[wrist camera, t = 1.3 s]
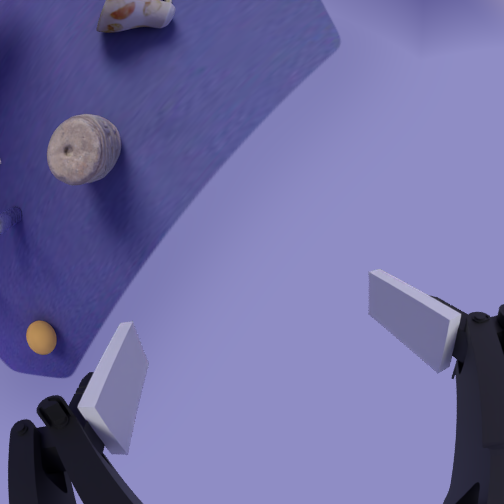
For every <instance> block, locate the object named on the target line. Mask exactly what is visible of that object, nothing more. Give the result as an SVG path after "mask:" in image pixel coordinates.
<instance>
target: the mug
mask: <svg viewBox="0 0 504 504" xmlns="http://www.w3.org/2000/svg"><path fill="white" fill-rule="evenodd" d="M165 1H166V2H165ZM165 1H161V0H106V2H105V4H104V6H103V9H102V12H101V15H100V18H99V21H98V25H97V31H99V32H105V33H113V32H120V31H124V30H128V29H133V28H138V27H154V28H163V27H165V26H167V25H168V24H169V23H170V22H171V20H172V18H173V16H174V14H175V7H174V6H173V4H172V0H165Z"/></svg>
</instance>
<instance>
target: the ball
mask: <svg viewBox="0 0 504 504" xmlns="http://www.w3.org/2000/svg"><path fill="white" fill-rule="evenodd" d="M26 337H27V342H28V344H29V346H30V348H31V349H32V350H33V351H34V352H36V353H38V354H41V355H46V354H49V353H51V352H52V351H53V350H54V348H55V346H56V342H57V337H56V333H55V331H54V329H53V327H52V326H51V325H50V324H48V323H47V322H45V321H35V322H33V323H32V324H30V326H29V327H28V329H27V334H26Z"/></svg>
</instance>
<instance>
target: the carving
mask: <svg viewBox="0 0 504 504" xmlns="http://www.w3.org/2000/svg"><path fill="white" fill-rule="evenodd" d="M120 151H121V139H120V135H119V132H118V130H117V128H116V127H115V126H114V125H113V124H112V123H111V122H110V121H108V120H107V119H105V118H103V117H100V116H96V115H91V114H90V115H89V114H83V115H77V116H73V117H71V118H69V119H68V120H66V121H64V122H63V123H62V124H61V125H60V126H58V128H57V129H56V130H55V131H54V133H53V135H52V137H51V139H50V142H49V145H48V150H47V160H48V165H49V168H50V170H51V172H52V173H53V175H54V176H55V177H56V178H57V179H58V180H60V181H62V182H64V183H66V184H69V185H81V184H85V183H92V182H94V181H97V180H100V179H102V178H104V177H105V176H106V175H107V174H108V173H109V172H110V171H111V170H112V168H113V167H114V166H115V164H116V162H117V160H118V158H119V155H120Z"/></svg>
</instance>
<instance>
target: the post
mask: <svg viewBox="0 0 504 504" xmlns="http://www.w3.org/2000/svg"><path fill="white" fill-rule="evenodd" d="M21 218H22V213H21V210H20V209H19V208H18V207H16V206H15V207H12V208H10V209H9V210H7V211H5V212H3V213H1V214H0V235H1V234H2V233H3V232H5V231H6V230H8V229H9V228H11V227H12V226H14V225H15V224H17V223H18V222H20V220H21Z"/></svg>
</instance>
